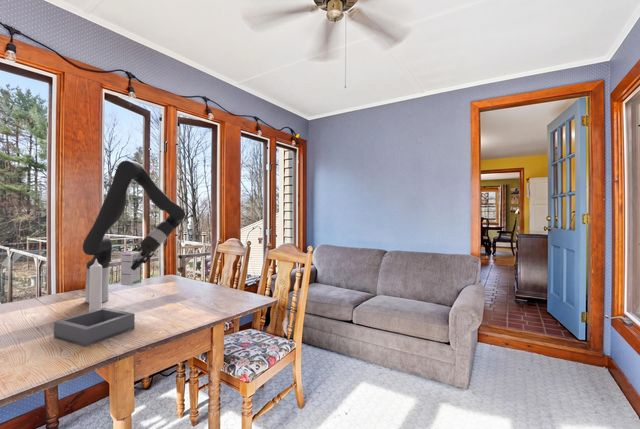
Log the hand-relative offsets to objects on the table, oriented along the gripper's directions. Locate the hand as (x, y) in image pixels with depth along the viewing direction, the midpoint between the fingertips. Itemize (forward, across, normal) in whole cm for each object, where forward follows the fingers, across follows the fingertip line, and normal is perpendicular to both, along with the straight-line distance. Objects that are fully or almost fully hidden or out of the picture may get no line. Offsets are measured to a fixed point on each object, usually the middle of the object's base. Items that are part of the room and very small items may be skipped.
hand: (127, 268), depth 137 cm
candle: (+21, -11, +10) cm, 25 cm away
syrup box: (+4, 0, +6) cm, 8 cm away
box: (+27, +12, +3) cm, 29 cm away
